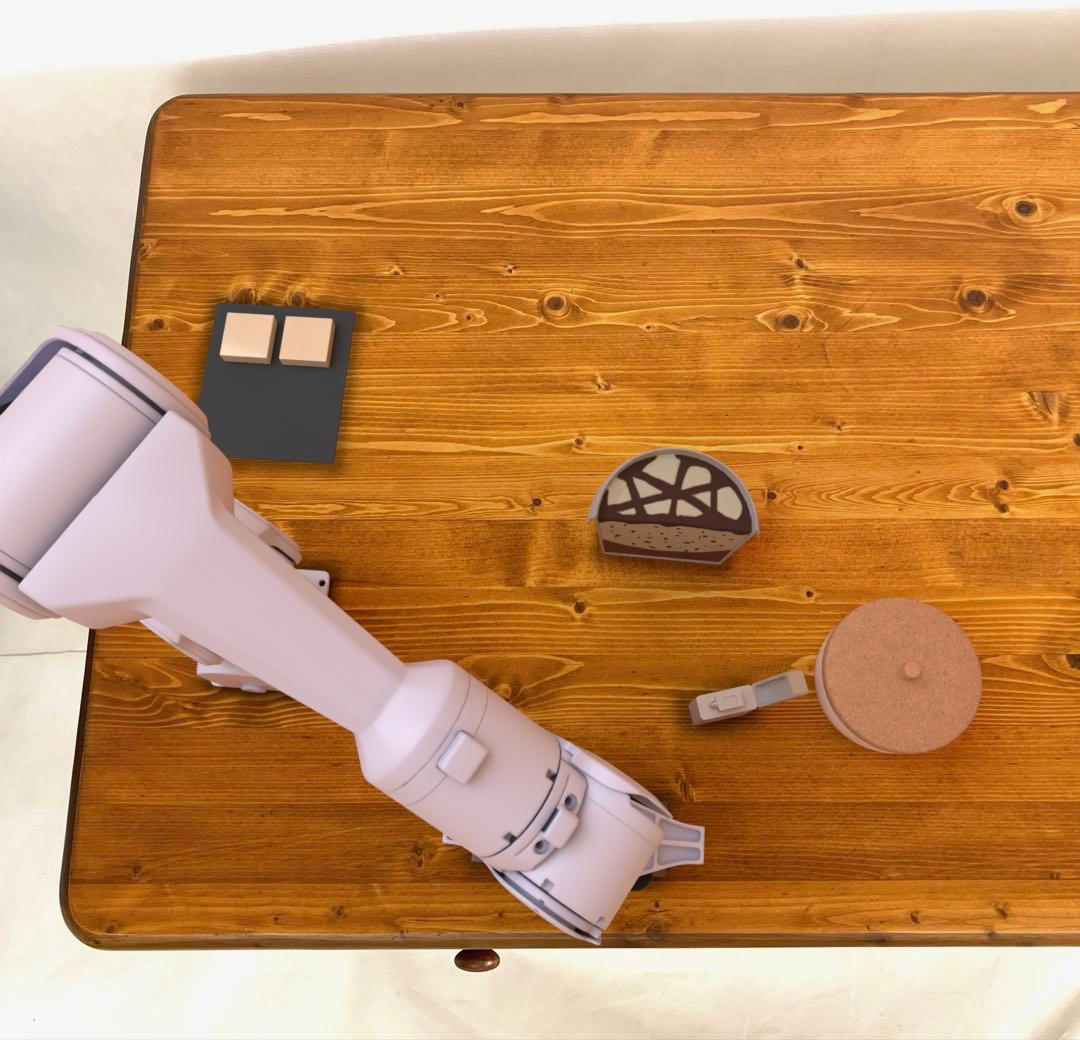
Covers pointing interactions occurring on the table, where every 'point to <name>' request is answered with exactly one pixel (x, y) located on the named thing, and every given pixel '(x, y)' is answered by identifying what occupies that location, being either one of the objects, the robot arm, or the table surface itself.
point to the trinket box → (898, 677)
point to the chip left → (248, 338)
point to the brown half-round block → (674, 508)
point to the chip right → (307, 341)
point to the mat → (276, 394)
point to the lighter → (747, 697)
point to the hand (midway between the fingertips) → (571, 832)
